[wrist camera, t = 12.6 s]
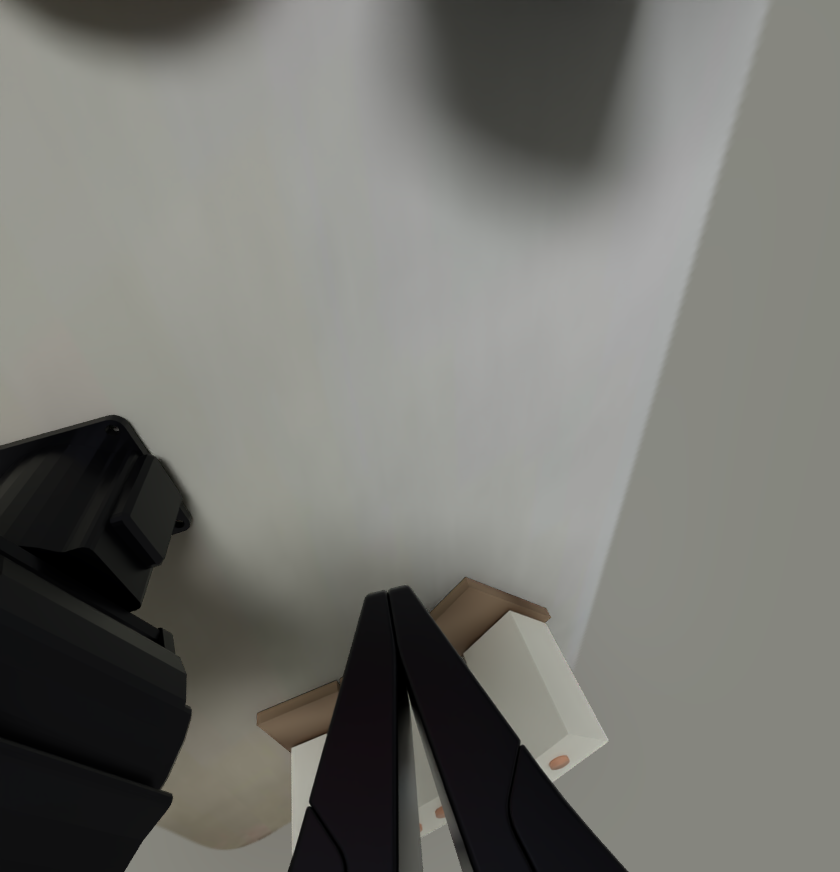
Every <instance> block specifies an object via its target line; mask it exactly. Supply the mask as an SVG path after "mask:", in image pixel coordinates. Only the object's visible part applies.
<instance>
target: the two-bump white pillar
mask: <svg viewBox="0 0 840 872" xmlns="http://www.w3.org/2000/svg"><path fill="white" fill-rule="evenodd" d="M408 697H409V695H408ZM409 703H410V699H409ZM410 711H411V721H412V734H413V747H414V760H415V773H416V786H417V799H418V812H419V825H420V838H422V837H423V836H425V835H427V834H429V833H431V832H432V831H434V830H436V829H438V828H439V827H441V826H443V825H445V824H447V821H446V817H445V814H444V811H443V808H442V805H441V801H440V798H439V795H438V792H437V789H436V785H435V782H434V779H433V776H432V772H431V769H430V766H429V763H428V760H427V756H426V753H425V750H424V747H423V744H422V740H421V737H420V734H419V731H418V728H417V724H416V721H415V718H414V714H413V711H412V707H411V703H410Z"/></svg>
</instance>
